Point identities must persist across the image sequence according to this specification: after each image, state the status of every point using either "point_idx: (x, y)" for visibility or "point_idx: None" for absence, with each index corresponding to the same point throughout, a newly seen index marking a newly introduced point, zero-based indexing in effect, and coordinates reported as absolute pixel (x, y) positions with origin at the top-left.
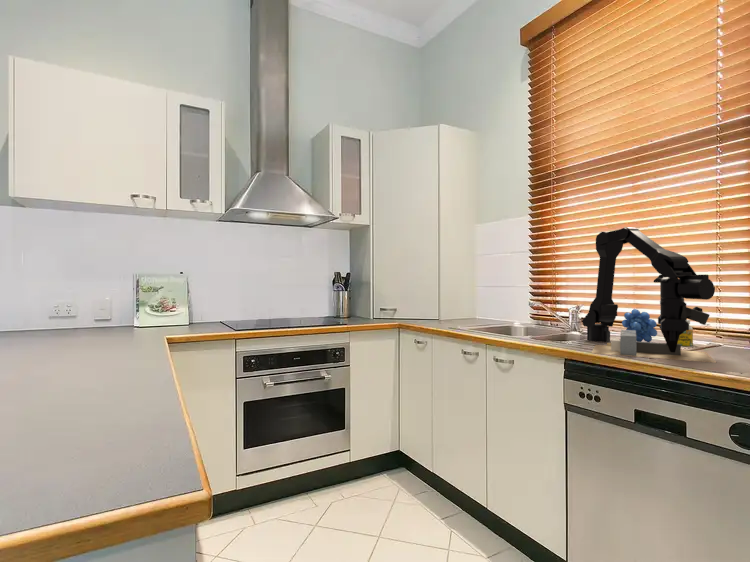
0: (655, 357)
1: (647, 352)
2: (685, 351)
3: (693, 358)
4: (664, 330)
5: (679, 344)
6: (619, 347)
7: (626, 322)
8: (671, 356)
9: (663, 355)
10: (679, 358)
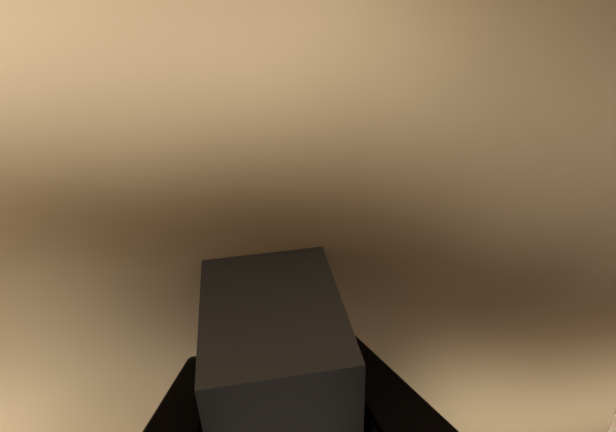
0: (586, 419)
1: None
2: None
3: (541, 93)
4: None
5: (286, 388)
6: None
7: None
8: (465, 324)
9: (425, 390)
10: (589, 246)
